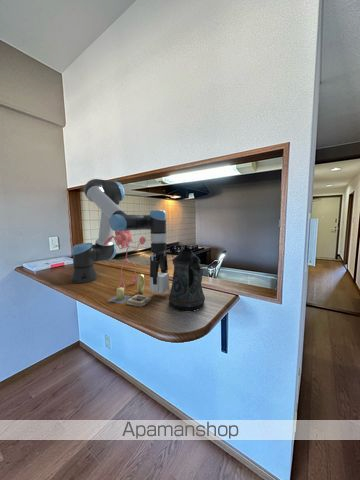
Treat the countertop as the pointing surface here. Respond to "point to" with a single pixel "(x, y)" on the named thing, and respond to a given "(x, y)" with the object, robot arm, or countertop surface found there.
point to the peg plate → (120, 296)
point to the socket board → (139, 303)
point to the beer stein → (186, 283)
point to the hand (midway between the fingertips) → (159, 287)
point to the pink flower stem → (123, 240)
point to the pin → (140, 283)
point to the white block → (161, 282)
